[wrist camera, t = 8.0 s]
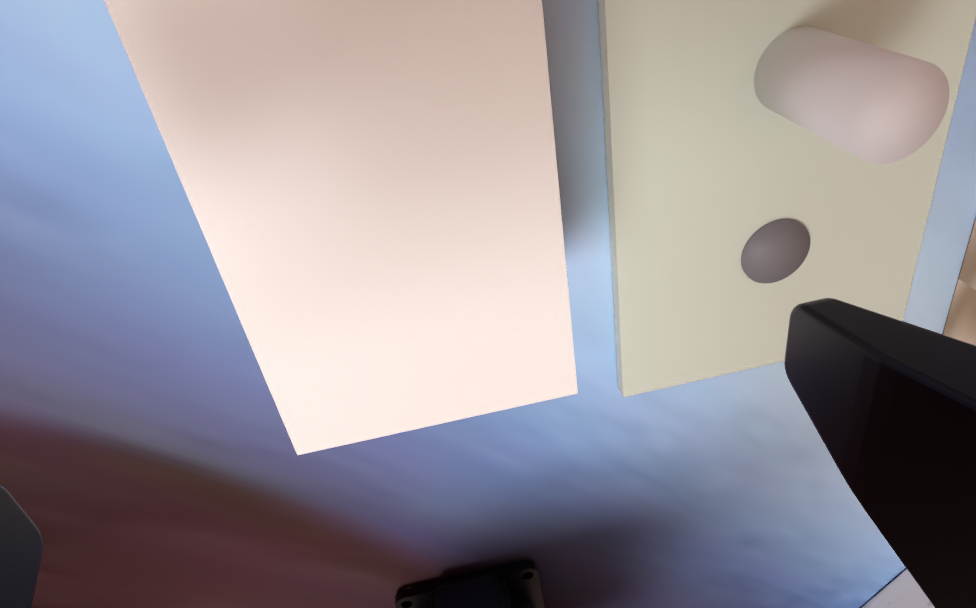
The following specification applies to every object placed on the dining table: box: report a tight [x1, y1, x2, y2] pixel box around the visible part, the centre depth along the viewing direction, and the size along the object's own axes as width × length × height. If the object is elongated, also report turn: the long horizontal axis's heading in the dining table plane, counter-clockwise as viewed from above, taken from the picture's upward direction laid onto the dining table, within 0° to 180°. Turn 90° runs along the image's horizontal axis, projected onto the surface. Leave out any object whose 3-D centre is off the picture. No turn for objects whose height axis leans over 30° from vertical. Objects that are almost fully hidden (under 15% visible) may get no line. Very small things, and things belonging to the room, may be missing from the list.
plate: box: [598, 0, 976, 397], centre depth 19 cm, size 16×11×5 cm
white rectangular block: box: [104, 0, 578, 455], centre depth 16 cm, size 12×7×6 cm, turn 9°
